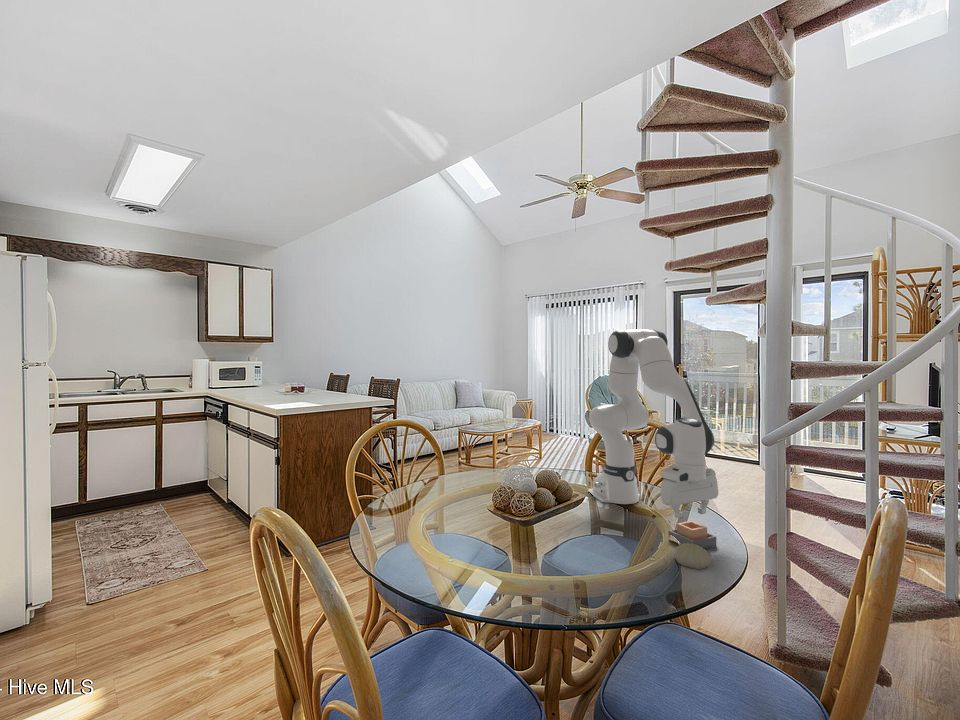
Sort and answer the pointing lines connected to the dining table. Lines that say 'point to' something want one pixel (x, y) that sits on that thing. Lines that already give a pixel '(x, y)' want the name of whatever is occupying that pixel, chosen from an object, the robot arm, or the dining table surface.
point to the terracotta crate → (692, 530)
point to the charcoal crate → (703, 543)
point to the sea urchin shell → (692, 556)
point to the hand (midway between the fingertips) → (690, 515)
